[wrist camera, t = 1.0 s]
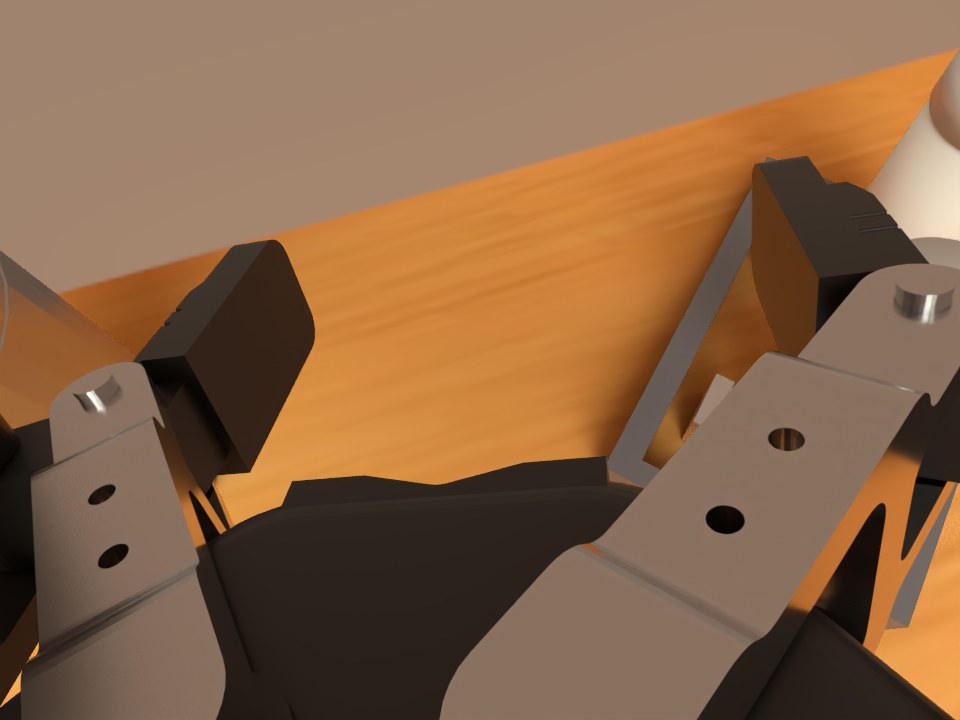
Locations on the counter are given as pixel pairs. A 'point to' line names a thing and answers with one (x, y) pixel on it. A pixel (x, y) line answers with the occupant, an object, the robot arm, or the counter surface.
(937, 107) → the fuse
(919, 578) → the clip holder
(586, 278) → the counter surface
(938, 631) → the counter surface
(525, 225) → the counter surface
